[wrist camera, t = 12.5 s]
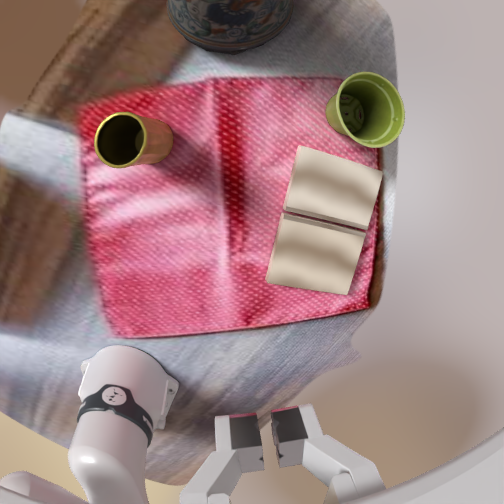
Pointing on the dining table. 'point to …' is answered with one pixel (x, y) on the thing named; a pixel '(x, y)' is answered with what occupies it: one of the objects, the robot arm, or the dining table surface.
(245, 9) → the beer stein
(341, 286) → the loose plank
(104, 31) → the dining table surface
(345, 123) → the plant pot
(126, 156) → the vase
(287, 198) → the board
